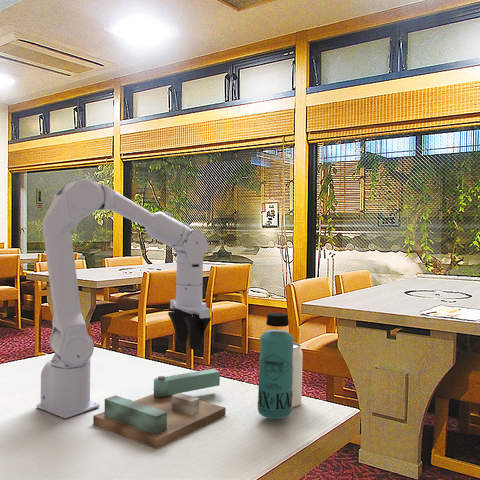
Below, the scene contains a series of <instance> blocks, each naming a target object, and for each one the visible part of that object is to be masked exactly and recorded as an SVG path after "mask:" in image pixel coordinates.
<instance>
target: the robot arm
mask: <svg viewBox="0 0 480 480" xmlns="http://www.w3.org/2000/svg"><path fill="white" fill-rule="evenodd" d="M96 211H109V212H110V211H111V212H113V213H115V214H117V215H119V216H122V217H123V218H125V219H127V220H130V221H132V222H134V223H136V224H138V225H141V226H142V227H144V229H145V232H146V235H147V236H149V237H150V238H152V239H154V240H156V241H158V242H160V243H162V244H165V245H166V246H168V247H169V248H172V249H173V251H174V252H175V253H176V288H175V289H176V291H175V299H170V303H169V304H170V307H169V308H170V309H172V310H171V311H168V312H167V315H168V316H169V319H170V321H171V323H172V326H173V329H174V334H175V339H176V343H177V344H185V343H187V342H188V345H189V349H190V350H199V349H201V345H202V341H203V337H204V334H205V331H206V330H207V327H208V325H209V323H210V322H211V320H212V319H211V318H212V317H211V316H210V315H211V312H210V311H211V309H210V308H208V307H207V302H204V301H203V287H204V286H203V275H204V274H203V273H204V256H205V253H206V252H207V251H208V249H209V242H208V241H207V237H206V236H205V233H203V232H202V231H201V230H199V229H190V224H189V223H187V222H183V223H182V221H179V220H178V219H175V218H174V217H172V215H173V214H172V213H171V212H169V211H162V210H161V211H156V212H154V213H152V212H151V211H149V210H148V209H146V208H144V207H142V206H141V205H139V204H138V203H136V202H134V201H133V200H132V199H129V198H127V197H126V196H124V194H121V193H119V192H117V191H116V190H114V189H113V188H110V187H109V186H107V185H105V184H99V183H98V182H97V181H95V180H93V179H90V178H82V179H78V180H77V181H70V182H68V183H65V184H64V185H63V186H62V187H61V188H60V189H59V190H57V191H56V192H55V194H54V195H53V199H52V202H51V204H50V206H49V207H48V210H47V211H46V213H45V216H44V217H43V220H42V221H41V223H42V225H41V227H42V234H43V243H44V249H45V257H46V265H47V272H48V273H47V274H48V280H49V287H50V295H51V304H52V311H53V317H52V320H51V324H52V331H51V334H50V337H49V346H50V349H51V350H52V352H53V353H54V354H53V356H52V358H51V359H50V360H48V361H47V362H46V363H45V364H44V366H43V368H42V370H41V373H40V402H39V403H37V404H36V408H39V409H41V410H43V411H45V412H49V413H51V414H53V415H55V416H56V417H57V416H58V417H60V418H63V419H67V418H71V417H74V416H76V415H79V414H83V413H85V412H88V411H91V410H94V409H97V408H99V407H100V403H97V402H94V401H92V400H91V357H92V356H93V353H94V351H95V349H94V348H95V345H94V341H93V339H92V338H91V336H90V334H89V333H88V330H87V324H86V320H85V318H84V316H83V314H82V309H81V300H80V293H79V285H78V277H77V269H76V260H75V253H74V246H73V245H74V244H73V238H72V230H74V229H75V227H77V225H78V224H79V223H80V222H82V220H83V219H84V218H86V217H87V216H89V215H91V214H93V213H94V212H96Z"/></svg>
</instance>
